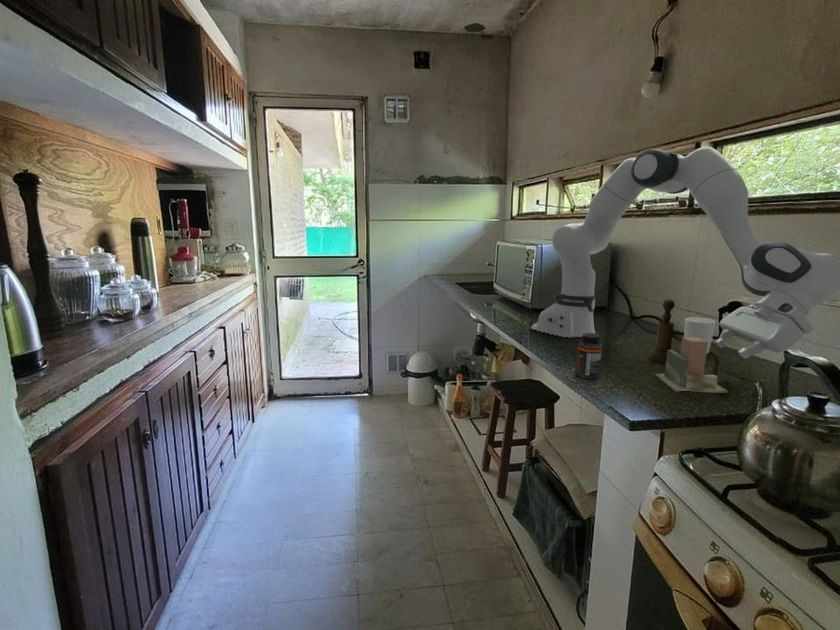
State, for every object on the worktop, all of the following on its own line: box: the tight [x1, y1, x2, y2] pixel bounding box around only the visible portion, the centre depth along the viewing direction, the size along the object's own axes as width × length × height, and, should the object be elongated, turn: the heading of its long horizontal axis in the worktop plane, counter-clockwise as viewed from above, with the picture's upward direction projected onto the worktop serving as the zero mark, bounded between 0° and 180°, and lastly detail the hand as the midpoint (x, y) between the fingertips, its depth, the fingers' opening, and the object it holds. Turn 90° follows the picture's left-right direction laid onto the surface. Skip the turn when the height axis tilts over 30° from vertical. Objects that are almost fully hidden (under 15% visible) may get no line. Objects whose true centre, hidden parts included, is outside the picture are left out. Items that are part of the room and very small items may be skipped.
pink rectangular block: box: [679, 336, 708, 375], centre depth 109 cm, size 4×4×11 cm
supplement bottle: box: [575, 333, 603, 380], centre depth 114 cm, size 6×6×11 cm
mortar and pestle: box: [649, 298, 675, 364], centre depth 127 cm, size 7×6×18 cm
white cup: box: [683, 316, 716, 355], centre depth 136 cm, size 8×8×10 cm
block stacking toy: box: [654, 349, 729, 394], centre depth 109 cm, size 12×11×8 cm
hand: (728, 350), depth 107 cm, fingers open, 8 cm apart
